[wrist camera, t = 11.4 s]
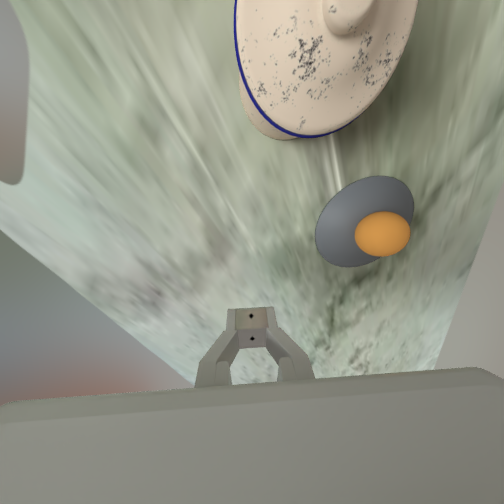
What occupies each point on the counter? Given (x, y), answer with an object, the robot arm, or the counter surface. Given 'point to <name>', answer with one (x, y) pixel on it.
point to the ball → (382, 233)
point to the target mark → (358, 217)
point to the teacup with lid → (316, 60)
